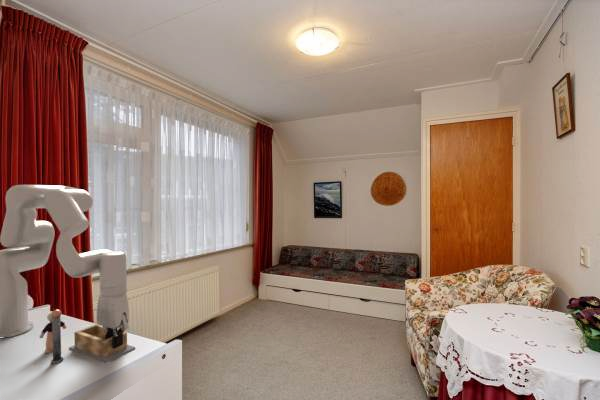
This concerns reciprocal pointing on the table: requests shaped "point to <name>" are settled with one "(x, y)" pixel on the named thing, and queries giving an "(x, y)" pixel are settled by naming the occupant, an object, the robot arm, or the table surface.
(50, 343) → the grandmother figurine
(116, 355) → the rubber mat
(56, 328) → the post stand
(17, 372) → the table surface
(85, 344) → the open wooden frame
